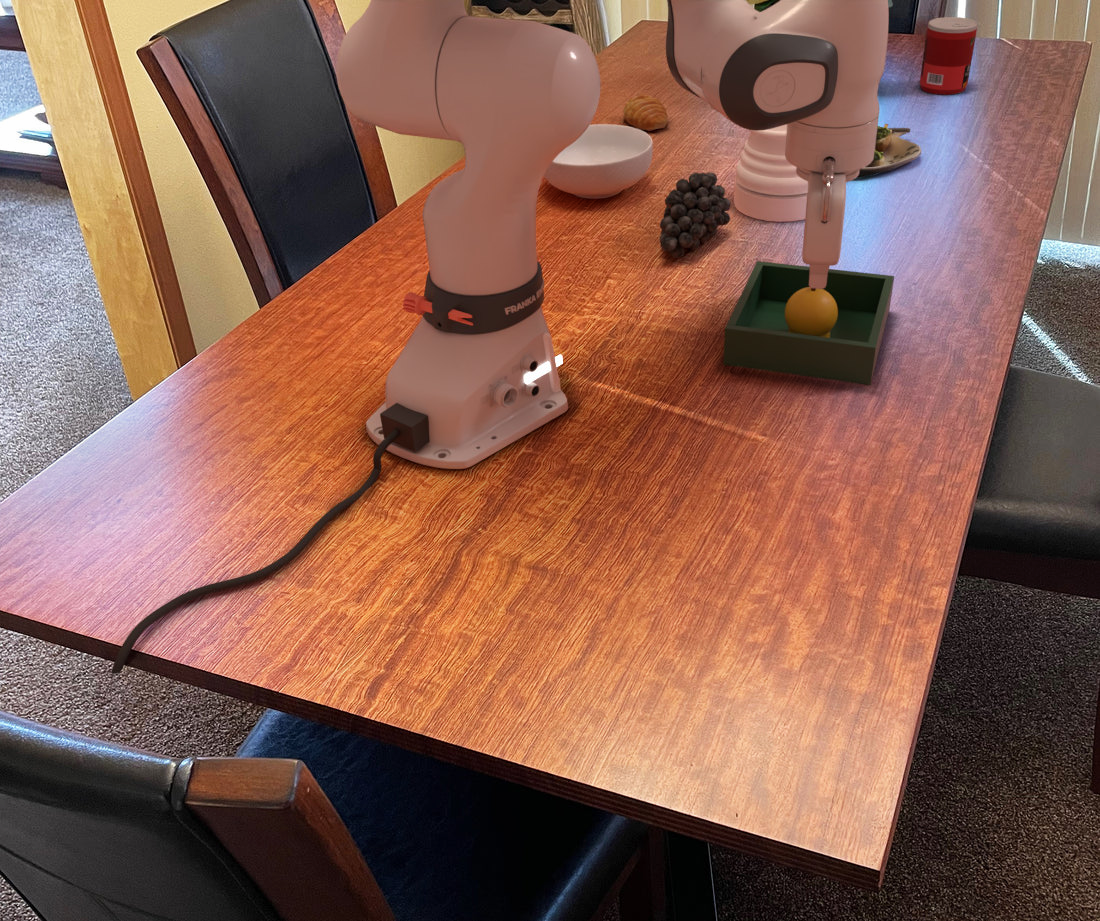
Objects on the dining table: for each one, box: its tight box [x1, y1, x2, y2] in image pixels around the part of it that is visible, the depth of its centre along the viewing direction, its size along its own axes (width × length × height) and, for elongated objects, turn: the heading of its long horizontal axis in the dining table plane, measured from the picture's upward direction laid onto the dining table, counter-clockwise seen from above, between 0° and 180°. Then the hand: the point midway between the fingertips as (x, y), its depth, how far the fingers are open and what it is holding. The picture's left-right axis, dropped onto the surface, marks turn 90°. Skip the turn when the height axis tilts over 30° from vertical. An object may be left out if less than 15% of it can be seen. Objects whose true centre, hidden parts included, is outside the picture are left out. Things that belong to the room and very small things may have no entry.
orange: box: [785, 287, 838, 338], centre depth 124 cm, size 6×6×7 cm
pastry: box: [622, 94, 669, 132], centre depth 186 cm, size 9×7×4 cm
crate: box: [722, 260, 895, 386], centre depth 125 cm, size 17×16×5 cm
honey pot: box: [733, 124, 808, 223], centre depth 153 cm, size 13×13×18 cm
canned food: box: [919, 16, 978, 96], centre depth 190 cm, size 8×8×11 cm
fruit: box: [659, 172, 732, 259], centre depth 146 cm, size 9×8×15 cm
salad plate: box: [855, 123, 922, 179], centre depth 170 cm, size 19×18×5 cm
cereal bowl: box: [543, 123, 654, 200], centre depth 163 cm, size 17×17×7 cm
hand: (818, 265), depth 120 cm, fingers open, 8 cm apart
